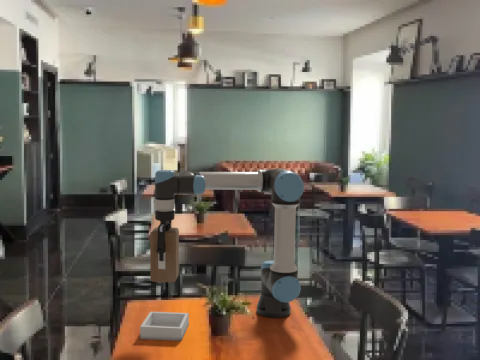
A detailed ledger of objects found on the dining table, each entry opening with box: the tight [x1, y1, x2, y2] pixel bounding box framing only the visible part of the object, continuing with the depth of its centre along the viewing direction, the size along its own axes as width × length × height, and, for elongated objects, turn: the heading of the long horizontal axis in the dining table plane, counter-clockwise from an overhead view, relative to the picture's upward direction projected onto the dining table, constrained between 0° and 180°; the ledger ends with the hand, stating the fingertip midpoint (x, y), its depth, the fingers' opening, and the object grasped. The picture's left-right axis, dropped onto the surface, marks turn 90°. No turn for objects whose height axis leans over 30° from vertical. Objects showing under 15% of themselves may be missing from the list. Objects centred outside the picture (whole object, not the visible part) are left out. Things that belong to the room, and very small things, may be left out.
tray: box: [139, 311, 190, 342], centre depth 217 cm, size 16×16×5 cm
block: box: [149, 226, 180, 283], centre depth 213 cm, size 10×10×20 cm
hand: (165, 264), depth 214 cm, fingers closed on block, 10 cm apart
